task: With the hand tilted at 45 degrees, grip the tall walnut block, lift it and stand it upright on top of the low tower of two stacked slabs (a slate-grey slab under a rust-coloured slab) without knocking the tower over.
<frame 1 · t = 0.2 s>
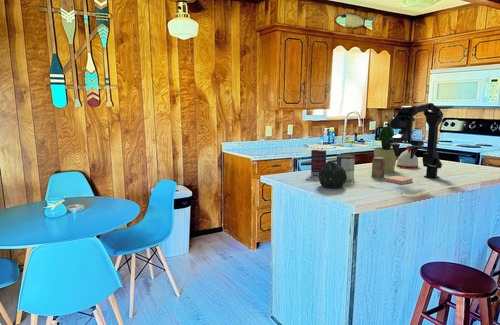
hand: (403, 157, 189), 14 cm above the countertop, tool pointing down, fingers open, 9 cm apart
potted cactus: (384, 170, 229), on the countertop
walnut block: (377, 178, 204), on the countertop
squash: (332, 187, 185), on the countertop
knit hat: (407, 167, 243), on the countertop
coffee can: (344, 179, 203), on the countertop
supplement box: (318, 175, 216), on the countertop
bottom slab: (398, 185, 190), on the countertop, touching top slab
top slab: (398, 181, 190), point 1 cm above the countertop, touching bottom slab
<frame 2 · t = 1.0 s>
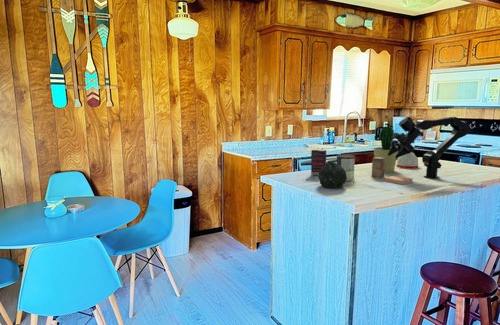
hand: (391, 156, 202), 13 cm above the countertop, tool tilted 45°, fingers open, 9 cm apart
bottom slab: (398, 185, 190), on the countertop
top slab: (398, 181, 190), point 1 cm above the countertop
everything else where it was.
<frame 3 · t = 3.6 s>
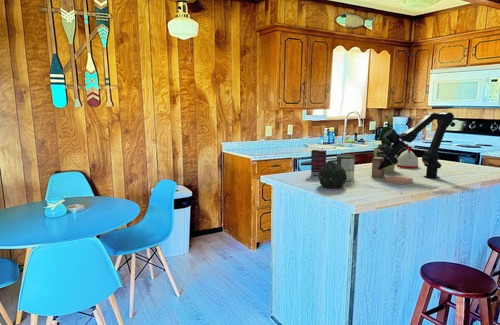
hand: (376, 167, 203), 7 cm above the countertop, tool tilted 45°, fingers closed on walnut block, 7 cm apart
walnut block: (377, 178, 204), on the countertop, touching gripper
bottom slab: (398, 185, 190), on the countertop, touching top slab
top slab: (398, 181, 190), point 1 cm above the countertop, touching bottom slab
everything else where it was.
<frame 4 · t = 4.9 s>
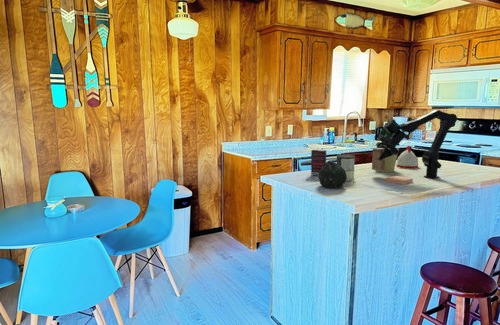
hand: (376, 158, 202), 12 cm above the countertop, tool tilted 45°, fingers closed on walnut block, 7 cm apart
walnut block: (378, 169, 203), point 5 cm above the countertop, touching gripper
everything else where it was.
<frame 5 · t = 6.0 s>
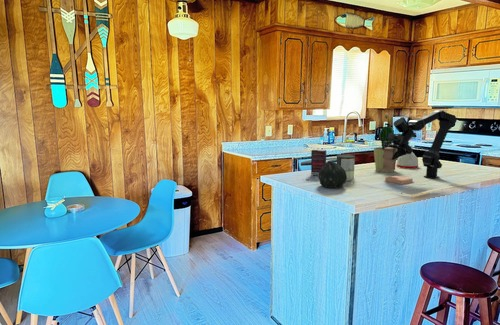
hand: (387, 158, 193), 13 cm above the countertop, tool tilted 45°, fingers closed on walnut block, 7 cm apart
walnut block: (389, 169, 195), point 7 cm above the countertop, touching gripper
everything else where it was.
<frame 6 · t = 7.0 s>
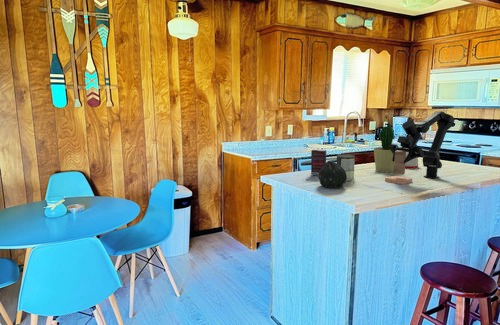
hand: (398, 161, 188), 12 cm above the countertop, tool tilted 45°, fingers closed on walnut block, 7 cm apart
walnut block: (399, 173, 189), point 6 cm above the countertop, touching gripper
everything else where it was.
when the fingers open (12 cm above the countertop, at t = 7.6 s): walnut block drops 2 cm, resting on top slab.
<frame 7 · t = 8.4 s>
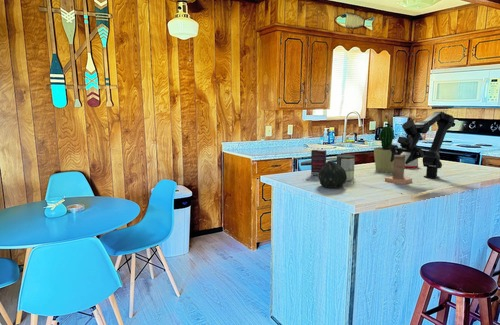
hand: (398, 162, 188), 12 cm above the countertop, tool tilted 45°, fingers open, 9 cm apart
walnut block: (398, 177, 190), point 3 cm above the countertop, touching top slab
top slab: (398, 181, 190), point 1 cm above the countertop, touching bottom slab, walnut block
everything else where it was.
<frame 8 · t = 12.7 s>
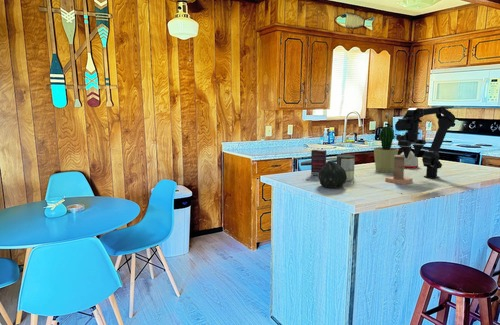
hand: (410, 157, 199), 13 cm above the countertop, tool pointing down, fingers open, 9 cm apart
at the end: walnut block inside the target area on the top slab (0.4 cm from its centre), point 2.0 cm above the top slab's base; walnut block tilted 1°; top slab moved 1.0 cm from its start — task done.
